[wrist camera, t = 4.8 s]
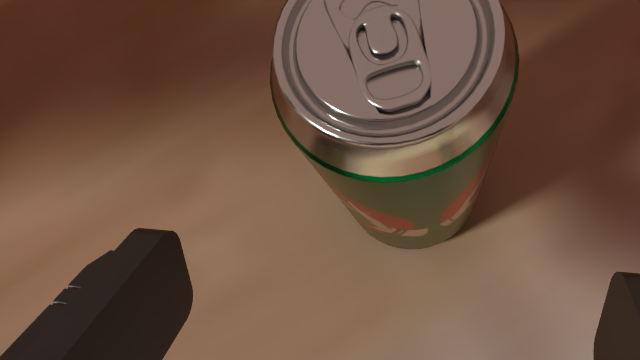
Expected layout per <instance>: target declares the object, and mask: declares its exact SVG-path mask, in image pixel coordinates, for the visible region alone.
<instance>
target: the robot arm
mask: <svg viewBox="0 0 640 360" xmlns="http://www.w3.org/2000/svg"><path fill="white" fill-rule="evenodd" d="M53 301H54V303H53V305H49V306H48V307H47V308H46V309H45V310H44V311H43V312H42V313H41V314H40V315H39V316H38V317H37V318H36V319H35V321H34V322H33V323H32V324H31V325H30V326H29V327H28V328H27V329H26V330H25V331H24V332H23V333H22V334H21V335H20V336H19V337H18V338H17V340H16V341H15V342H14V343H13V344H12V345H11V346H10V347H9V348H8V349H7V350H6V351H5V352H4V353H3V354H2V355H1V356H0V360H162V359H163V357H164V356H165V354H166V353H167V351H168V349H169V348H170V346H171V344H172V343H173V341H174V339H175V338H176V336H177V335H178V333H179V331H180V330H181V328H182V326H183V325H184V323H185V321H186V320H187V318H188V316H189V313H190V310H191V307H192V301H193V289H192V285H191V281H190V277H189V273H188V269H187V265H186V262H185V258H184V254H183V250H182V246H181V242H180V239H179V237H178V235H177V234H176V233H175V232H174V231H167V230H156V229H144V228H138V229H135V230H133V231H132V232H131V233H130V234H129V235H128V236H127V238H126V239H125V240H124V241H123V242H122V243H121V244H120V245H119V246H118V247H117V249H116V250H115V251H109V252H107V253H106V254H104V255H103V256H101V257H100V258H98V259H96V260H95V261H93V262H92V263H90V264H88V265H87V266H86V267H85V268H84V269H83V270H82V271H81V272H80V273H79V274H78V275H77V276H76V277H75V278H74V279H73V280H72V281H71V283H70V284H69V287H68V289H64V290H63V291H62V292H61V293H60V294H59V295H58V296H57V297H56V298H55V299H54V300H53ZM594 360H640V274H638V273H626V272H616V273H615V274H614V275H613V277H612V279H611V282H610V285H609V289H608V292H607V296H606V299H605V303H604V307H603V310H602V314H601V317H600V321H599V325H598V328H597V332H596V336H595V341H594Z"/></svg>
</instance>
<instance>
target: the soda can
mask: <svg viewBox="0 0 640 360" xmlns="http://www.w3.org/2000/svg"><path fill="white" fill-rule="evenodd" d="M518 67H519V54H518V45H517V39H516V36H515V33H514V29H513V26H512V23H511V21H510V19H509V17H508V15H507V13H506V11H505V9H504V8H503V6H502V5H501V4H500V1H499V0H287V1H286V3H285V5H284V6H283V8H282V10H281V13H280V16H279V18H278V21H277V24H276V28H275V33H274V38H273V57H272V62H271V73H270V85H271V93H272V100H273V103H274V106H275V109H276V113H277V116H278V118H279V120H280V122H281V124H282V126H283V127H284V129H285V131H286V133H287V134H288V135H289V137H290V138H291V139H292V141H293V142H294V143H295V145H296V146H297V147H298V148H299V150H300V151H301V152H302V153H303V154H304V156H305V157H306V158H307V159H308V161H309V162H310V163H311V164H312V166H313V167H314V168H315V169H316V171H317V172H318V173H319V174H320V176H321V177H322V178H323V179H324V180H325V182H326V183H327V184H328V185H329V187H330V188H331V189H332V190H333V192H334V193H335V194H336V195H337V197H338V198H339V199H340V200H341V202H342V203H343V204H344V205H345V206H346V208H347V209H348V210H349V211H350V213H351V214H352V215H353V216H354V218H355V219H356V220H357V221H358V223H359V224H360V225H361V226H362V227H363V229H365V230H366V231H367V232H368V233H369V234H370V235H371V236H373V237H374V238H376V239H377V240H379V241H381V242H383V243H385V244H387V245H390V246H393V247H397V248H403V249H421V248H427V247H431V246H434V245H437V244H439V243H441V242H443V241H445V240H447V239H449V238H450V237H451V236H453V235H454V234H455V233H457V232H458V231H459V229H460V228H461V227H462V226H463V225H464V224H465V223H466V221H467V220H468V218H469V217H470V215H471V212H472V210H473V208H474V206H475V203H476V200H477V197H478V194H479V192H480V189H481V186H482V183H483V180H484V177H485V175H486V172H487V169H488V166H489V163H490V160H491V158H492V155H493V152H494V149H495V146H496V143H497V141H498V138H499V135H500V132H501V129H502V127H503V124H504V121H505V118H506V115H507V112H508V110H509V107H510V104H511V101H512V98H513V95H514V91H515V87H516V83H517V79H518Z"/></svg>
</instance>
